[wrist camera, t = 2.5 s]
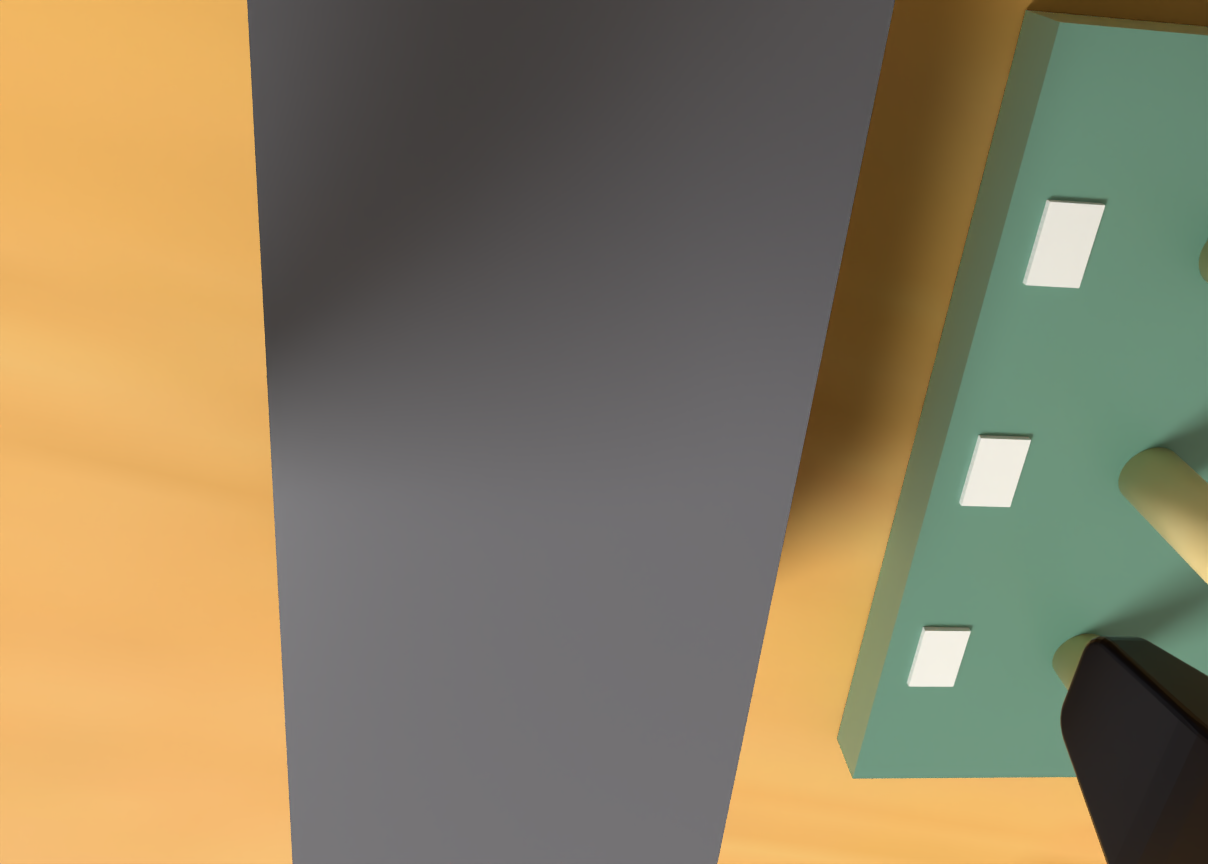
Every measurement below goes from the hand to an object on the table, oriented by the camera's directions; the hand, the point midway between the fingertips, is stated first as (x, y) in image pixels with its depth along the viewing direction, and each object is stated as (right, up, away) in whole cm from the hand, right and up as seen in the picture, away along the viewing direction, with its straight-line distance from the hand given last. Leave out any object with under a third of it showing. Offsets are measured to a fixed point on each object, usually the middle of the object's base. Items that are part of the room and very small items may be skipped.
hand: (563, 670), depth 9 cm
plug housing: (-1, +4, +7) cm, 8 cm away
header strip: (+9, +2, +9) cm, 13 cm away
